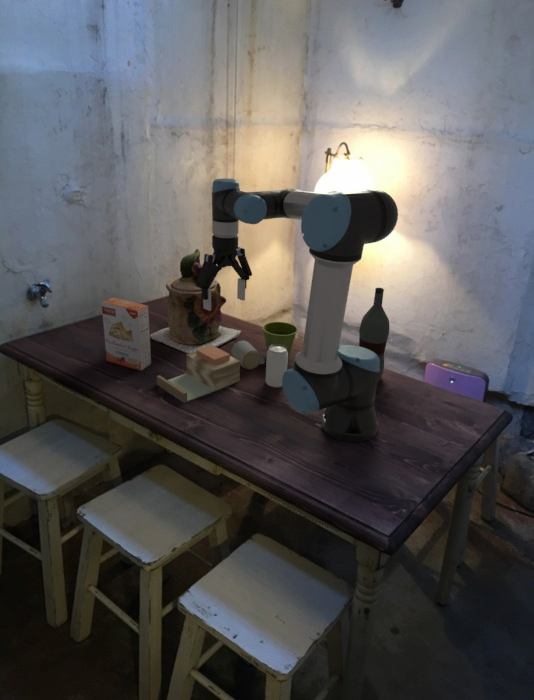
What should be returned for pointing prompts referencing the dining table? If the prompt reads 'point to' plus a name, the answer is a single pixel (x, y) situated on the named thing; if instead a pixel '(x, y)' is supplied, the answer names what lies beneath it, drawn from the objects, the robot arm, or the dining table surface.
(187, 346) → the cookie jar
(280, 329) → the plant pot
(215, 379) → the beige rectangular slab
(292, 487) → the dining table surface
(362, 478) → the dining table surface
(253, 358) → the ceramic mug
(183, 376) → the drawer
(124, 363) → the cracker box
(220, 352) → the orange rectangular slab
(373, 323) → the bottle
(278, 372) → the can
